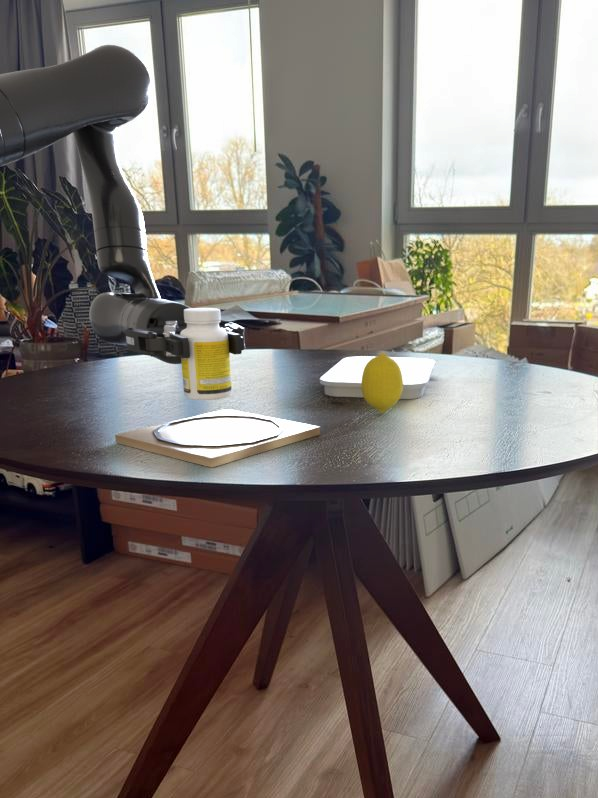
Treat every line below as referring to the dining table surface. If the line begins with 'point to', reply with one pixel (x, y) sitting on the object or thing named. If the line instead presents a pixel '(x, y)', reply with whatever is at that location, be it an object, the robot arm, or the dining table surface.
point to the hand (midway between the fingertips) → (212, 346)
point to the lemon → (382, 382)
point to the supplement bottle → (206, 356)
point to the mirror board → (217, 436)
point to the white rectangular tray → (350, 369)
